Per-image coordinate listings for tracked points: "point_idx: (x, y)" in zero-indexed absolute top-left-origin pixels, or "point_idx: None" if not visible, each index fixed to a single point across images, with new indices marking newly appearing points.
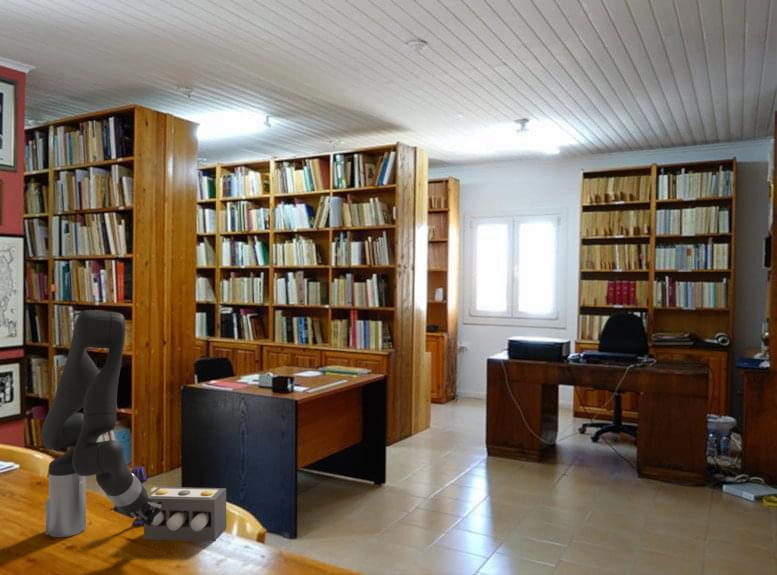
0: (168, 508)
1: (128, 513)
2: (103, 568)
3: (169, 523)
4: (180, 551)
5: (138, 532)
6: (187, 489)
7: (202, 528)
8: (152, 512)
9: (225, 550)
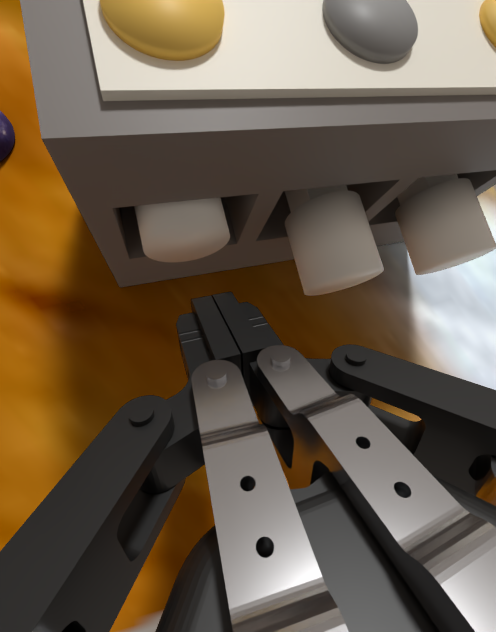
0: (282, 182)
1: (148, 545)
2: (137, 627)
3: (321, 285)
4: (350, 344)
5: (32, 223)
6: None
7: (459, 264)
8: (434, 473)
9: (479, 293)
